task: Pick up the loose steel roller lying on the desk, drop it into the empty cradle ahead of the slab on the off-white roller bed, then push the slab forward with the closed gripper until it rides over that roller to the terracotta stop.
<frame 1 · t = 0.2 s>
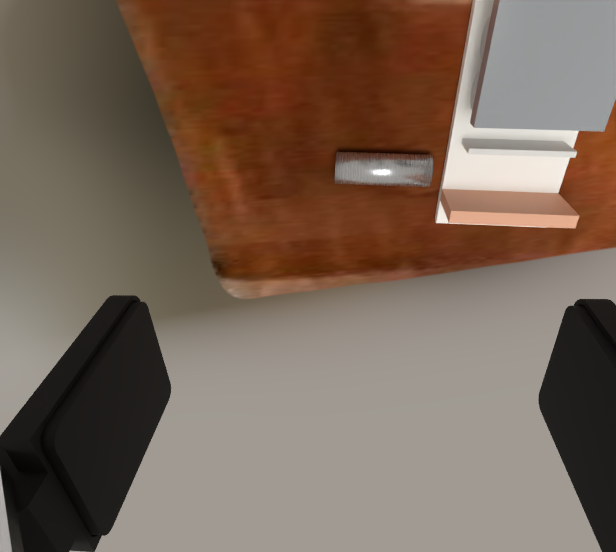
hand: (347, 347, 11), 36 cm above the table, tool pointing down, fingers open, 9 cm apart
slab: (553, 58, 34), point 5 cm above the table, slide at 0.0 cm
roller bed: (524, 74, 39), on the table
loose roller: (381, 164, 45), on the table
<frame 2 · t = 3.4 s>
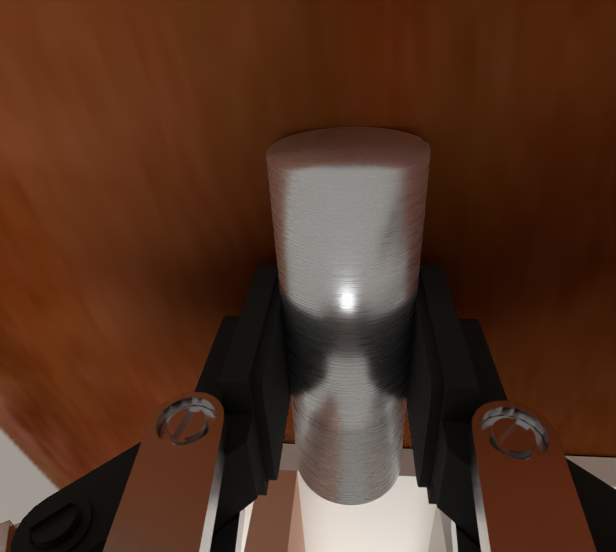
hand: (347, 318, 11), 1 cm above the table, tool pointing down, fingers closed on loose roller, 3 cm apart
roller bed: (577, 549, 17), on the table
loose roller: (345, 299, 12), on the table, touching gripper
when the fingers open (6 cm above the table, at t = 6.9 s): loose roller drops 4 cm, resting on roller bed.
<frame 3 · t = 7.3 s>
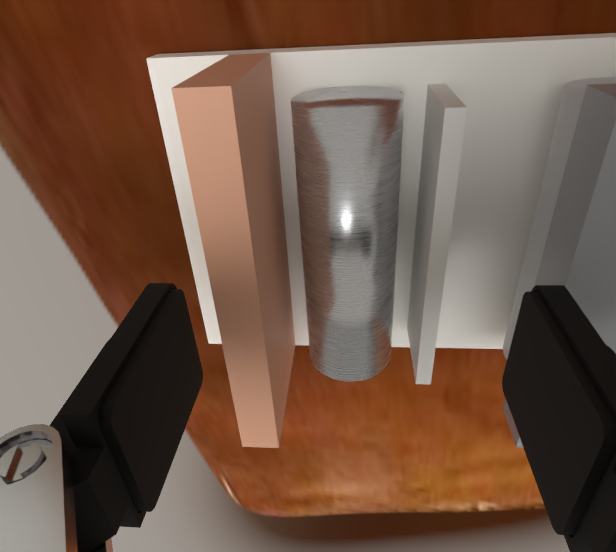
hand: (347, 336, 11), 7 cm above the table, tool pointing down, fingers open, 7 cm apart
roller bed: (582, 210, 16), on the table
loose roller: (348, 224, 16), point 1 cm above the table, touching roller bed
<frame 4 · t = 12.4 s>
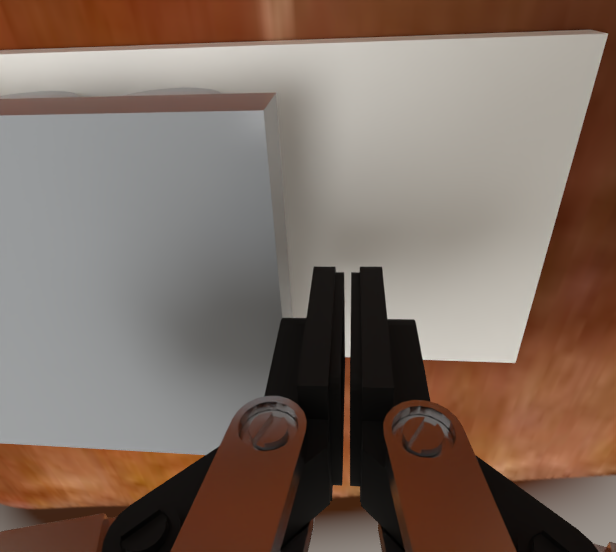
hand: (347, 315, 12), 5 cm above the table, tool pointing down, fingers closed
slab: (97, 305, 12), point 5 cm above the table, slide at 0.8 cm, touching gripper
roller bed: (134, 217, 16), on the table
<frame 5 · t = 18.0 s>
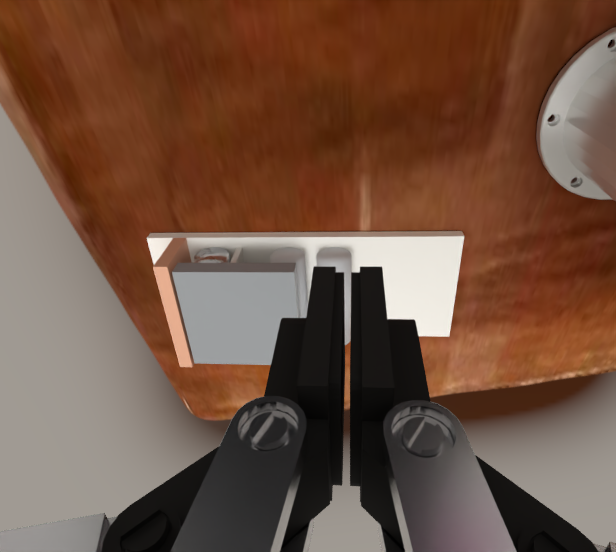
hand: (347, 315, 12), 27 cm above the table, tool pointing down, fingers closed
slab: (242, 316, 40), point 5 cm above the table, slide at 7.0 cm
roller bed: (304, 283, 44), on the table
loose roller: (219, 288, 44), point 1 cm above the table, tilted 15°, touching roller bed
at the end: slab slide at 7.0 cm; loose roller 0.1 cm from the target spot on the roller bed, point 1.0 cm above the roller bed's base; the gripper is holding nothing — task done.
